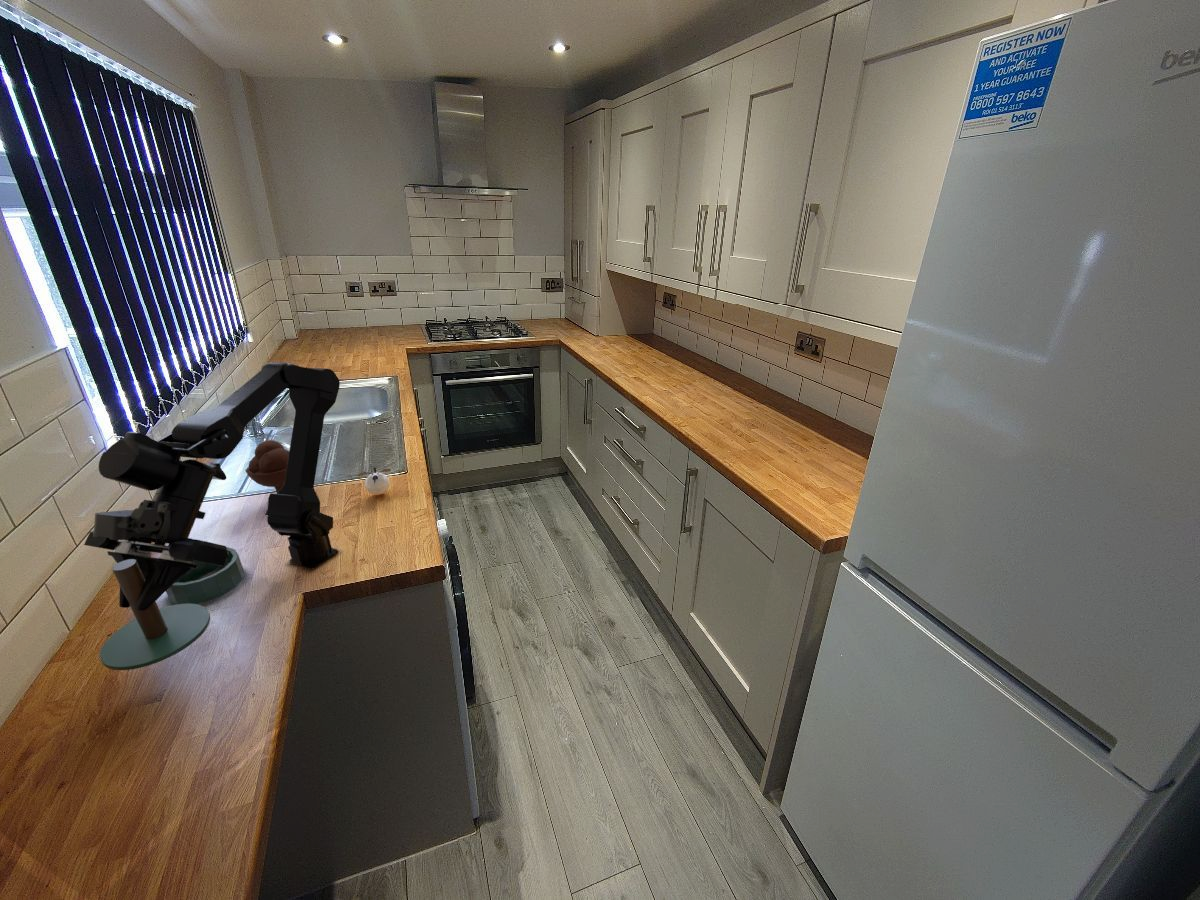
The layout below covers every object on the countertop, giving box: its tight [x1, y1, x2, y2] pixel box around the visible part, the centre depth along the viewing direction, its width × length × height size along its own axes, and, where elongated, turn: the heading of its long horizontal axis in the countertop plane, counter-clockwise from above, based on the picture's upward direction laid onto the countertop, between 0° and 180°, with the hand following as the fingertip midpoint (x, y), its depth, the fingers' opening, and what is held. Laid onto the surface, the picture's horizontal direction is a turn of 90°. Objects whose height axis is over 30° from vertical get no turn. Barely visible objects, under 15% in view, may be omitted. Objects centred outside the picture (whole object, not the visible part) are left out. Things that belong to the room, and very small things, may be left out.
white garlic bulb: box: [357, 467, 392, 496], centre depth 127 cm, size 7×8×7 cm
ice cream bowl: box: [245, 439, 289, 494], centre depth 125 cm, size 11×11×15 cm
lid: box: [99, 559, 211, 671], centre depth 73 cm, size 13×13×13 cm
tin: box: [165, 546, 246, 605], centre depth 97 cm, size 12×12×5 cm
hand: (132, 608), depth 72 cm, fingers closed on lid, 2 cm apart
